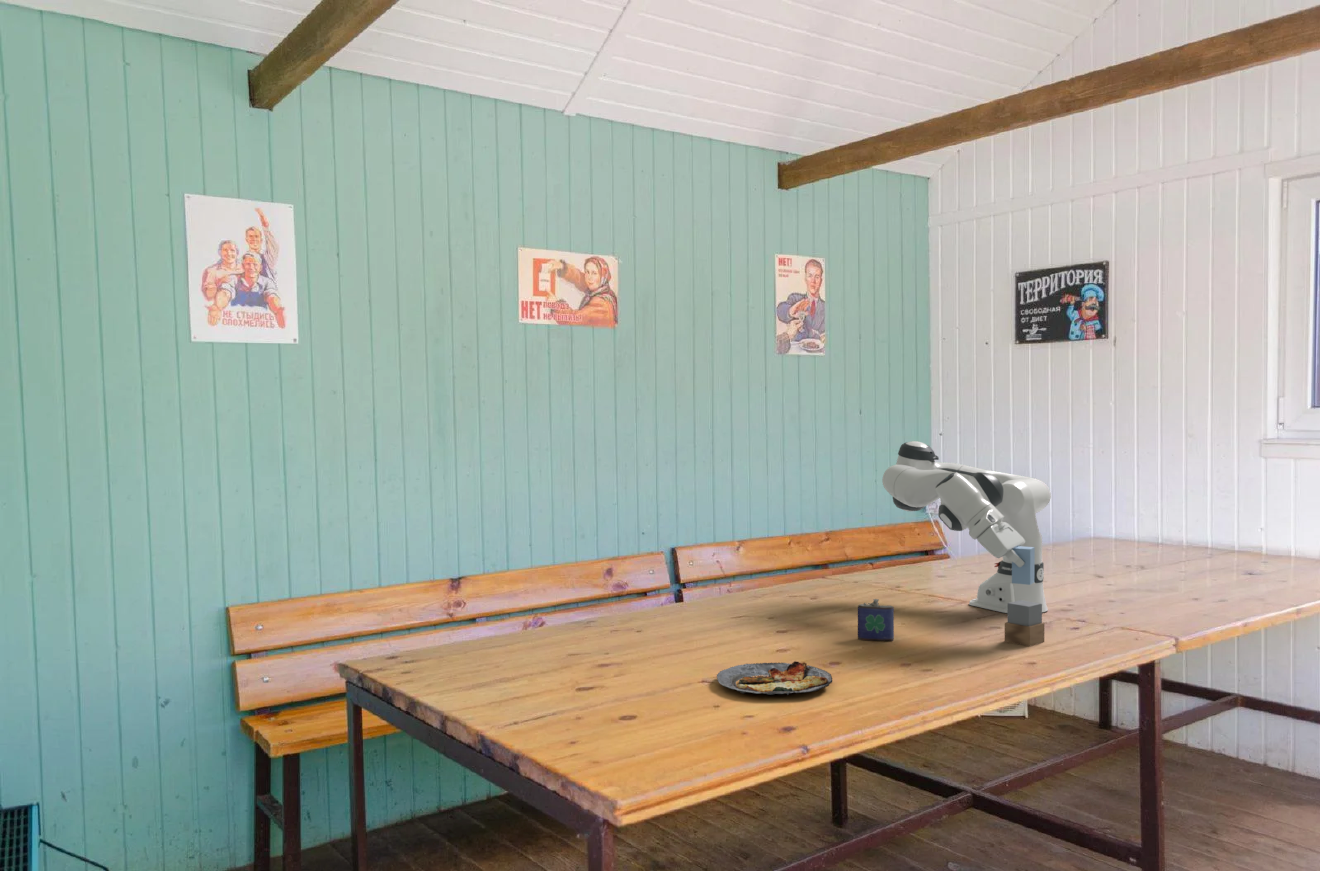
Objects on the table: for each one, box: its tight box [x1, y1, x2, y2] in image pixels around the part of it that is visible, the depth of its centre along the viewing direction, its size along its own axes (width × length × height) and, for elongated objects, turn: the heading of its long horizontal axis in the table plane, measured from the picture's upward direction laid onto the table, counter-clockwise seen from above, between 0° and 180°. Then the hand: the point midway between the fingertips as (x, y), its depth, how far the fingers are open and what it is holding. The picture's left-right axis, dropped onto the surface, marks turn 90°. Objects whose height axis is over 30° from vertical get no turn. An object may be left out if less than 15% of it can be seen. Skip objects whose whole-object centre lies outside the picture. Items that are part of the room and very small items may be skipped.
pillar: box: [1012, 546, 1035, 585], centre depth 249 cm, size 4×4×9 cm
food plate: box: [716, 660, 833, 696], centre depth 211 cm, size 25×23×4 cm
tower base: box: [1004, 621, 1045, 647], centre depth 249 cm, size 7×7×5 cm
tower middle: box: [1006, 600, 1043, 626], centre depth 249 cm, size 6×6×5 cm
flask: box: [857, 598, 895, 642], centre depth 252 cm, size 9×3×11 cm, turn 74°
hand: (1025, 563), depth 248 cm, fingers closed on pillar, 4 cm apart
